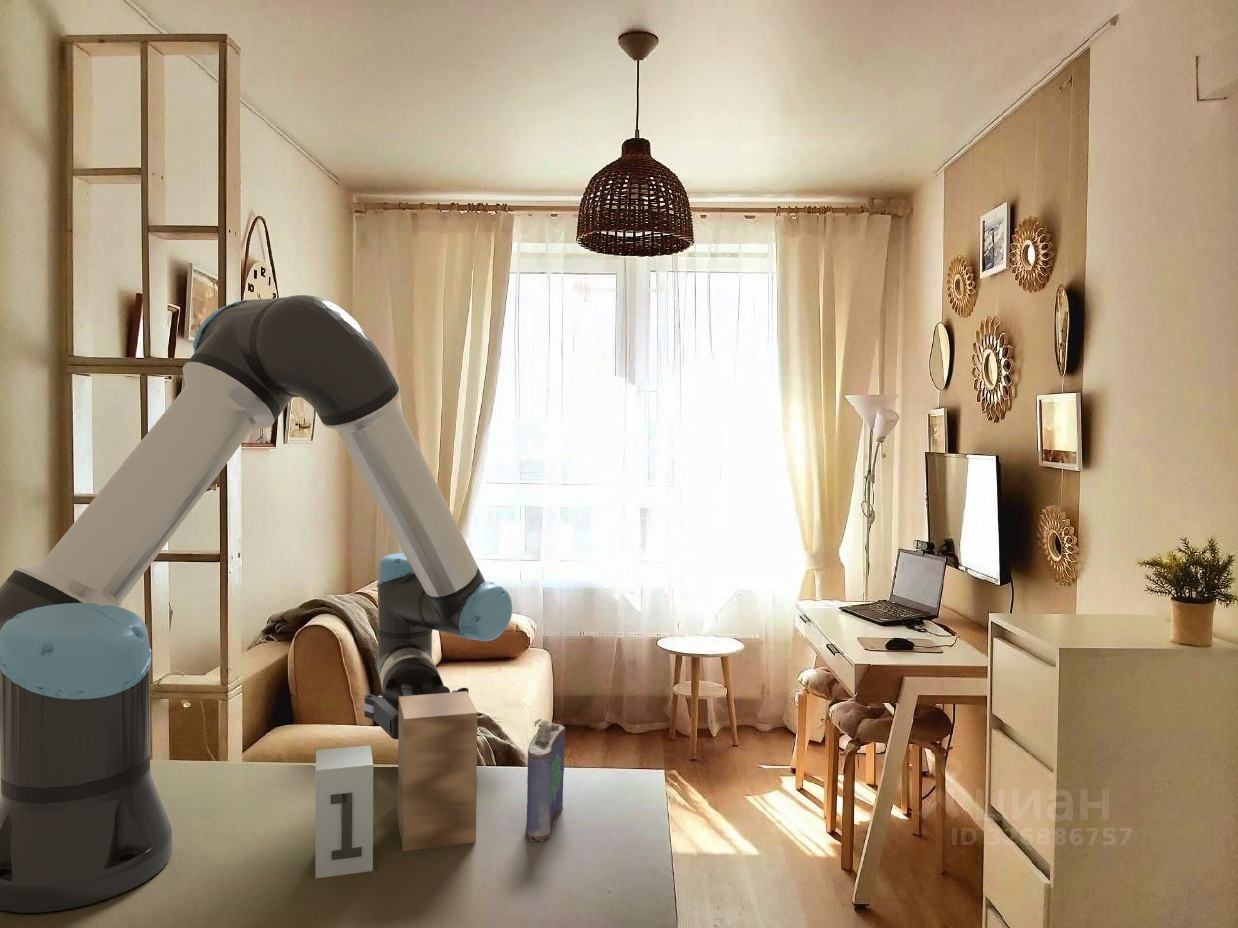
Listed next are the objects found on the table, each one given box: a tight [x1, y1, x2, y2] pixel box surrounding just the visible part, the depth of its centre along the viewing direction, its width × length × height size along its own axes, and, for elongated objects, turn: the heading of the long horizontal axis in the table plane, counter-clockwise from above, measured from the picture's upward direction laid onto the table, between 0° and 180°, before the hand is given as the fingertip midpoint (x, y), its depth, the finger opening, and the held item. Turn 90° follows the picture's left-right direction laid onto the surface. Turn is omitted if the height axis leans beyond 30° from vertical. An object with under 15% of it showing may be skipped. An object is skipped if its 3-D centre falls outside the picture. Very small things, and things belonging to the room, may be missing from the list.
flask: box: [525, 718, 566, 843], centre depth 93 cm, size 9×3×11 cm, turn 172°
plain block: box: [397, 691, 478, 852], centre depth 91 cm, size 7×7×13 cm
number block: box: [315, 744, 374, 879], centre depth 84 cm, size 5×5×10 cm
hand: (432, 748), depth 96 cm, fingers closed
